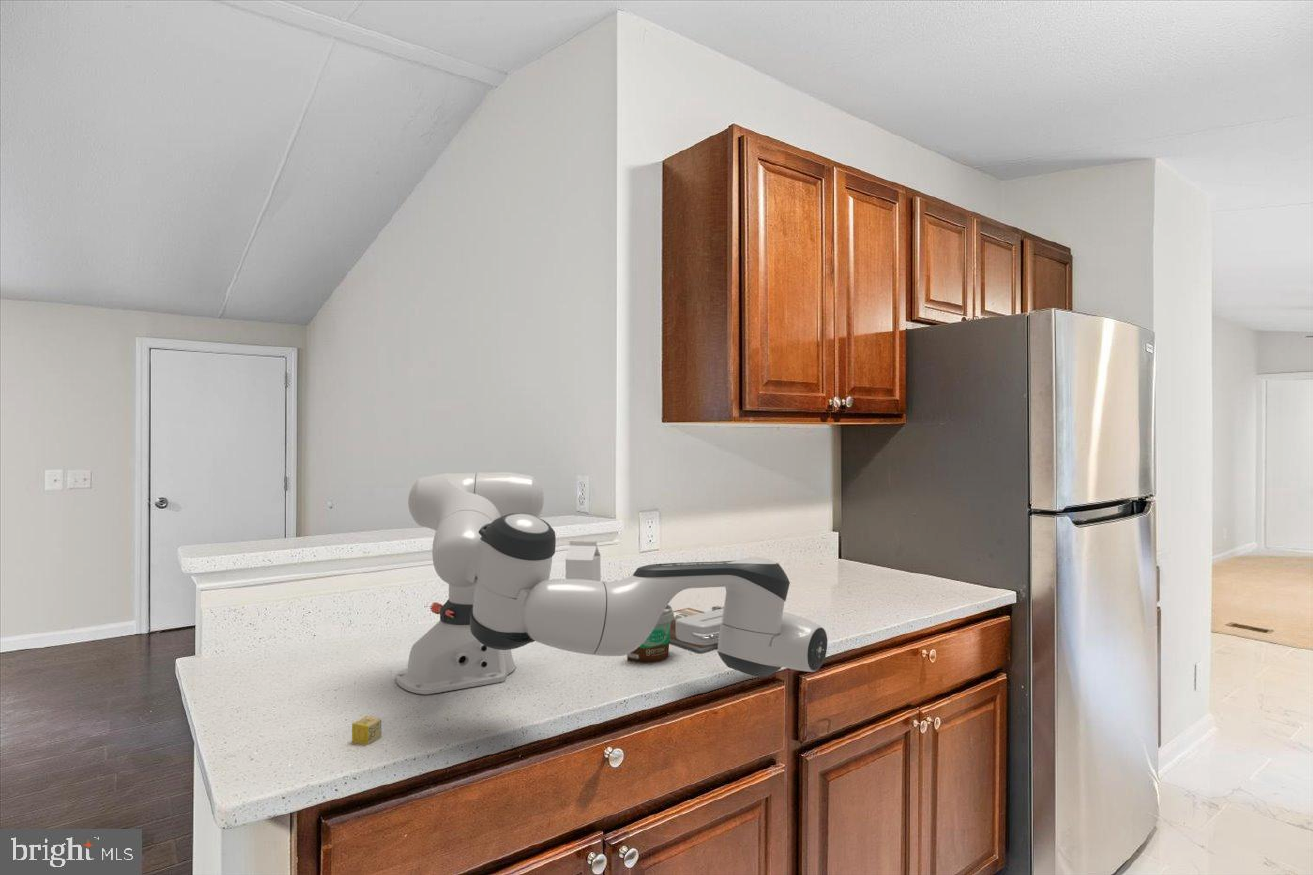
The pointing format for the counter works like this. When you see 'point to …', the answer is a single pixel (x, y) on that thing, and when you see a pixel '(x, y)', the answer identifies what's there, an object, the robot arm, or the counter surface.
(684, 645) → the walnut pedestal
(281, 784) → the counter surface
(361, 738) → the alphabet block
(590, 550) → the milk carton
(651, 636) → the food container
